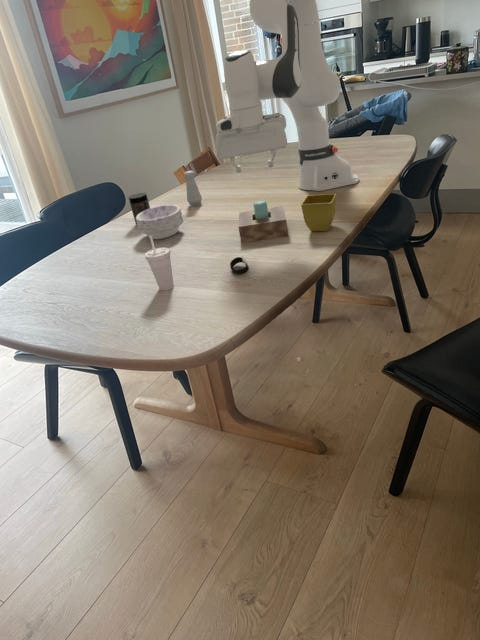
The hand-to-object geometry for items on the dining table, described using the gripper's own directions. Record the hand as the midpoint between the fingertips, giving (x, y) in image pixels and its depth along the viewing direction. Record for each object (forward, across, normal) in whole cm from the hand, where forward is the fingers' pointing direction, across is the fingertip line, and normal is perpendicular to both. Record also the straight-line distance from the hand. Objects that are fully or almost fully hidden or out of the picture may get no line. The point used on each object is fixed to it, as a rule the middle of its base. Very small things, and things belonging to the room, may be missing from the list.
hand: (255, 169), depth 136 cm
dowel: (+18, 0, 0) cm, 18 cm away
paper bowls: (+19, +34, -13) cm, 41 cm away
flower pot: (+19, -17, +5) cm, 26 cm away
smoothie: (+19, +26, +31) cm, 45 cm away
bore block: (+19, 0, 0) cm, 19 cm away
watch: (+19, +7, +27) cm, 34 cm away
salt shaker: (+19, +26, -44) cm, 54 cm away
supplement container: (+19, +44, -30) cm, 57 cm away
